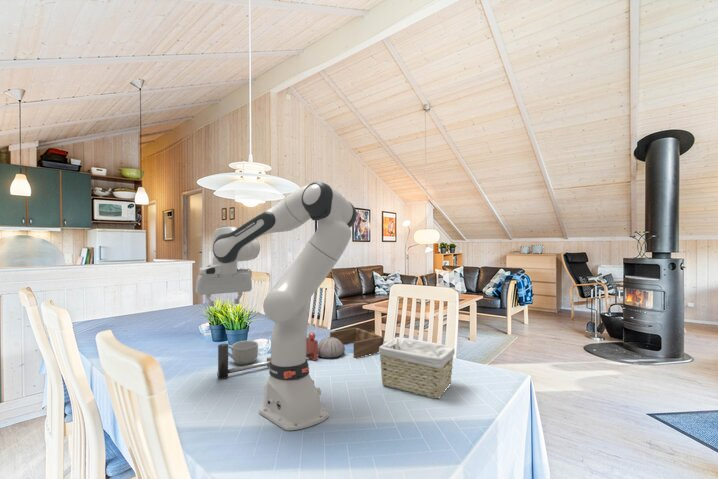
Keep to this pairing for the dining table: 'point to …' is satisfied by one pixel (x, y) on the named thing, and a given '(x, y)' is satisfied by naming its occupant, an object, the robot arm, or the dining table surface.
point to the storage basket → (416, 366)
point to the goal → (359, 340)
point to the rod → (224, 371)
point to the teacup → (244, 352)
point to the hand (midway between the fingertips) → (224, 304)
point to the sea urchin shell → (330, 347)
